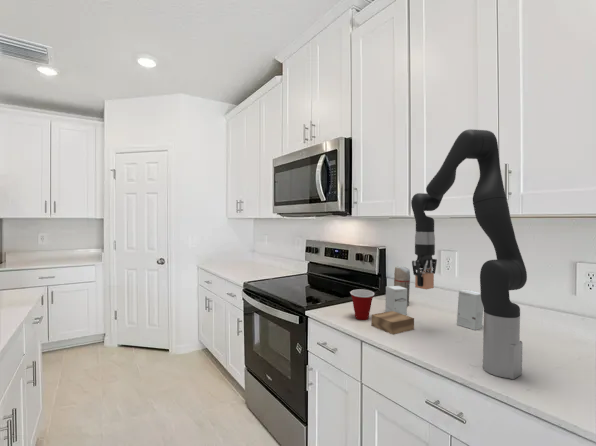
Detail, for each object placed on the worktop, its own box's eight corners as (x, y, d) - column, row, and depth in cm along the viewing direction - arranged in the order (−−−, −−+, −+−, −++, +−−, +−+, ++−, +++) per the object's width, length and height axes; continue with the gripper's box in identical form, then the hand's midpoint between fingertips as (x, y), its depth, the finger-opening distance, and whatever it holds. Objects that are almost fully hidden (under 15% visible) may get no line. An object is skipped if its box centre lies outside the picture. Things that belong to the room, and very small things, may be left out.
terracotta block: (433, 288, 133) (433, 273, 133) (426, 289, 130) (426, 274, 130) (422, 286, 137) (422, 271, 137) (415, 287, 134) (415, 272, 134)
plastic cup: (351, 321, 145) (351, 294, 145) (348, 314, 156) (349, 289, 156) (376, 322, 144) (376, 295, 144) (372, 315, 155) (372, 289, 155)
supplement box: (393, 316, 153) (393, 289, 153) (385, 312, 161) (385, 286, 160) (407, 315, 155) (407, 288, 155) (398, 311, 163) (398, 285, 162)
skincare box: (456, 325, 142) (457, 290, 141) (464, 322, 145) (464, 288, 145) (476, 330, 134) (476, 294, 134) (484, 328, 138) (484, 292, 138)
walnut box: (413, 330, 136) (414, 318, 135) (392, 335, 130) (392, 322, 130) (392, 322, 146) (392, 310, 146) (371, 326, 140) (371, 314, 140)
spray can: (398, 301, 181) (398, 265, 180) (412, 304, 175) (412, 266, 174) (389, 304, 175) (390, 266, 175) (404, 307, 169) (404, 268, 169)
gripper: (422, 244, 126) (422, 289, 126) (443, 243, 135) (443, 284, 135) (405, 243, 132) (405, 285, 132) (426, 242, 141) (426, 282, 141)
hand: (424, 285), depth 133 cm, fingers closed on terracotta block, 5 cm apart
